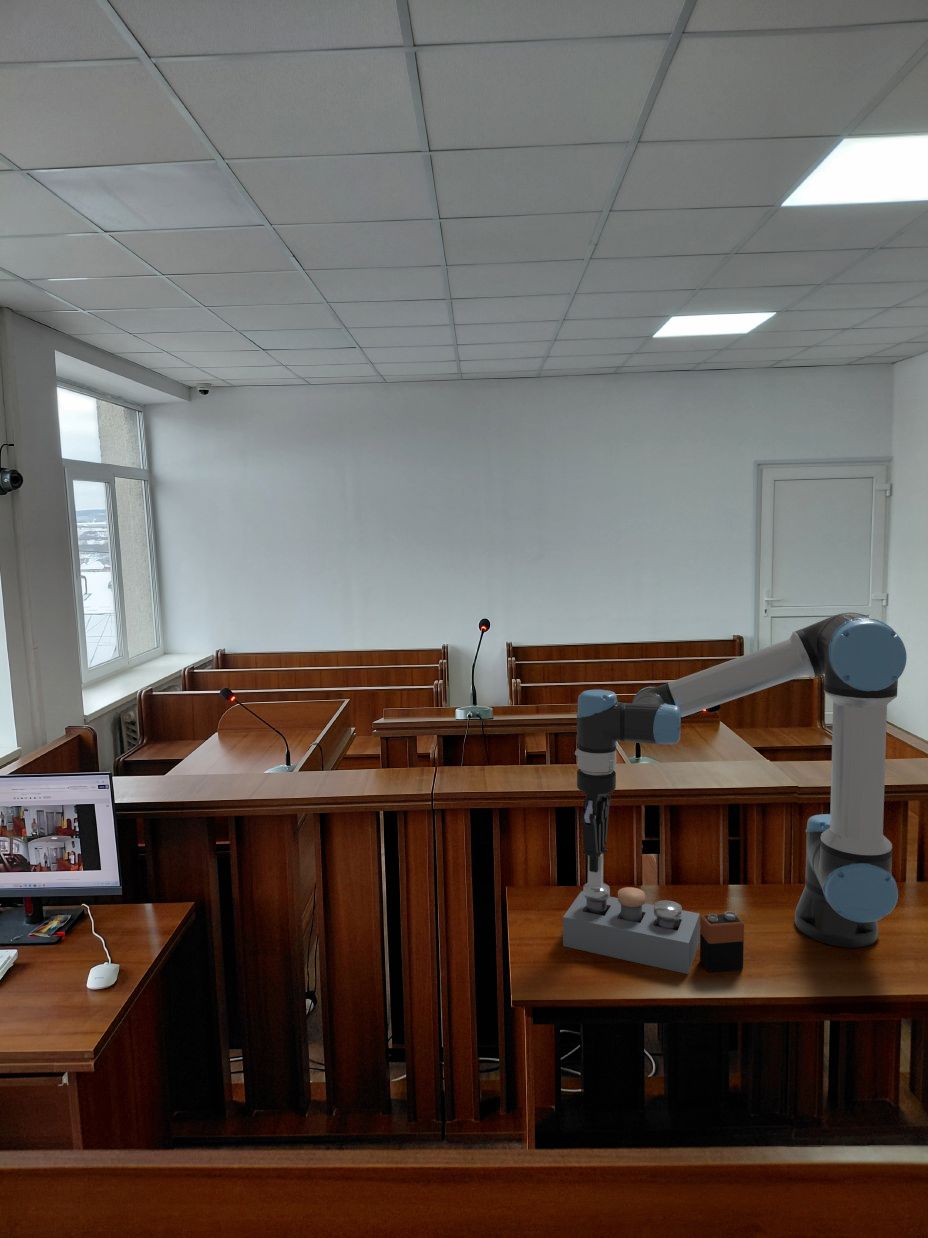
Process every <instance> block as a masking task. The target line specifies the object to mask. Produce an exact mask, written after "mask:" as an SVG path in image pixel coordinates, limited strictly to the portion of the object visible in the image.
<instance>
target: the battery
mask: <svg viewBox="0 0 928 1238" xmlns="http://www.w3.org/2000/svg"><path fill="white" fill-rule="evenodd" d="M737 915H738V914H737V913H736V912H735V911H731V910H727V911H725V912H723V913H716V914H715V913H709V914H702V915H700V932H699V960H700V963H702V964H703V966H704V967H705V968H706V970H707V971H708V972H709V973H713V972H714V973H715V972H716V973H717V972H728V971H737V970H742V969H744V952H745V951H744V949H745V948H744V947H745V945H744V940H745V939H744V938H745V923H744V922H743V921H742V920H741V919H740V918H739V917H738V916H737Z"/></svg>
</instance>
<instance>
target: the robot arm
mask: <svg viewBox="0 0 928 1238" xmlns="http://www.w3.org/2000/svg"><path fill="white" fill-rule="evenodd" d="M907 656H908V655H907V650H906V647H905V643H904V642H903V640H902V638H901V637H900V635H899V634H898V633H897V632H896V631H895V630H894V629H893V628H892V627H891V626H890V625H888V624H887V623H885V622H883V621H880V620H878V619H875V618H872V617H869V616H867V615H865V614H863V613H859V612H842V613H838V614H835V615H833V616H829V617H827V618H825V619H822V620H820V621H818V622H815V623H813V624H811V625H808V626H806V627H803V628H800V629H798V630H795V631H793V632H792V634H791V635H790V637H789V639H786V640H783V641H780V642H777V643H775V644H772V645H768V646H766V647H764V648H760V649H757V650H755V651H752V652H749V653H746V654H744V655H741V656H739V657H735V658H732V659H730V660H728V661H725V662H723V663H720V664H716V665H713V666H710V667H708V668H706V669H703V670H700V671H698V672H694V673H692V674H691V673H690V674H688V675H686V676H684V677H683V676H682V677H681V678H678V679H674V680H672V681H669V682H667V683H665V684H661V685H658V686H647V687H644V688H642V689H640V690H639V691H638V692H637V693H636V694H635V695H634V697H633V699H632V702H622V701H621V702H620V701H618V698H617V697H618V696H617V694H616V693H615V691H611V690H605V689H588V690H584V691H581V692H580V693H579V695H578V699H577V712H576V713H577V714H576V732H577V733H576V741H577V742H576V743H577V744H576V745H577V746H576V750H575V752H574V755H575V756H576V757H577V759H576V762H577V764H576V765H577V768H578V769H577V771H576V787H577V789H578V790H579V791H581V792H583V793H584V794H585V795H586V796H585V798H584V799H583V808H584V812H582V811H581V812H580V820H581V825H582V827H581V829H582V840H583V852H582V853H583V855H584V856H587V883H588V885H590V886H595V887H600V888H601V887H602V885H603V883H604V853H608V851H609V848H607V847H605V846H606V845H607V843H608V842H607V840H608V830H609V829H608V827H609V826H608V825H609V813H610V804H611V800H612V799H611V797H612V796H611V795H610V794H611V793H613V792H614V791H615V790H616V787H617V786H616V784H617V783H616V782H617V780H616V779H617V778H616V777H617V772H616V771H615V770H616V769H617V742H621V743H625V742H626V743H635V744H636V743H637V744H638V743H639V744H651V745H660V746H662V745H676V744H679V742H680V740H681V720H682V719H681V718H684V717H687V716H690V715H693V714H696V713H697V712H701V711H705V710H706V709H707V710H708V709H710V708H713V707H716V706H718V705H719V706H720V705H722V704H724V703H727V702H730V701H733V700H737V699H739V698H741V697H745V696H748V695H750V694H753V693H756V692H759V691H762V690H766V689H768V688H771V687H774V686H776V685H779V684H782V683H785V682H788V681H791V680H793V679H797V678H799V677H803V676H808V677H810V678H816V677H819V676H822V675H823V676H824V680H823V681H824V682H823V683H824V685H823V686H824V687H823V692H824V694H826V695H827V696H828V697H829V698H830V699H831V701H832V730H831V731H832V732H831V733H832V734H831V735H832V736H831V776H830V780H831V781H830V811H829V813H825V814H822V813H821V814H815V815H812V816H809V818H808V819H807V824H806V829H805V833H806V841H805V842H806V844H805V845H806V846H805V849H806V850H805V852H806V853H805V856H806V857H805V877H804V878H805V880H804V881H805V882H804V885H805V886H804V889H803V891H802V893H801V895H800V898H799V900H798V902H797V906H796V908H795V912H794V924H795V927H796V928H797V929H798V931H800V932H801V933H802V934H803V935H805V936H807V937H809V938H811V939H813V940H815V941H818V942H820V943H823V944H826V945H830V946H835V947H839V948H840V947H841V948H863V947H867V946H870V945H873V944H874V943H876V941H877V940H878V936H879V925H878V921H880V920H882V919H883V918H885V917H886V916H887V915H889V914H891V913H892V912H893V911H894V909H895V907H896V905H897V904H898V900H899V890H898V886H897V882H896V879H895V878H894V876H893V875H892V863H893V862H892V861H893V859H892V858H893V857H892V855H893V844H892V842H891V841H890V840H889V839H888V838H887V837H886V836H885V835H884V813H885V812H884V810H885V809H884V808H885V807H884V806H885V805H884V803H885V780H886V779H885V777H886V776H885V775H886V752H887V751H886V750H887V747H886V745H887V742H886V741H887V719H888V718H887V716H888V705H889V704H890V703H891V702H892V701H894V700H895V699H896V698H897V697H898V684H899V679H900V677H901V676H902V675H903V673H904V671H905V669H906V666H907V665H906V664H907V658H908V657H907Z"/></svg>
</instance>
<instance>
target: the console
mask: <svg viewBox="0 0 928 1238" xmlns="http://www.w3.org/2000/svg"><path fill="white" fill-rule="evenodd" d="M700 918H701V914H700V913H699V912H693V911H690V910H683V909H682V917H681V918H680V919H679V923H678V931H677V930H672V929H667V928H662V927H657V917H656V916H655V915H654V904H651V903H646V902H645V904H644V905H642V921H641V923H638V922H633V921H628V920H623V919H621V904H620V903H619V902H618V897H614V896H610V897H609V898H608V899H607V913H606V914H605V916H603V915H598V914H593V913H588V912H586V898H585V897H584V895H583V891H582V890H581V891H580V892H579V894H578V895H577V896H576V898H575V899H574V901H573V903H571V905H570V907H569V908H568V909H567V911H566V912H565V914H563V916H562V947H566V948H570V949H575V950H579V951H583V952H587V953H588V952H589V953H592V954H597V955H601V956H606V957H610V958H615V959H618V960H623V961H627V962H632V963H637V964H641V965H647V966H651V967H655V968H659V969H664V970H667V971H668V970H669V971H673V972H677V973H680V974H681V973H682V974H687V975H689V974H690V971H691V968H692V965H693V962H694V960H695V957H696V954H697V952H698V951H697V950H698V947H699V946H700Z"/></svg>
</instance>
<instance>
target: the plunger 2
mask: <svg viewBox="0 0 928 1238" xmlns="http://www.w3.org/2000/svg"><path fill="white" fill-rule="evenodd" d="M653 905H654V915H655V916H656V917H657V927H662V928H667V929H672V930H677V931H678V923H679V919H680V918H681V917H682V910H683V907H682V905H681V904H680V903H678V902H676V901H674V900H673V901H672V900H667V899H665V900H659V901H656V902H654V904H653Z"/></svg>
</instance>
